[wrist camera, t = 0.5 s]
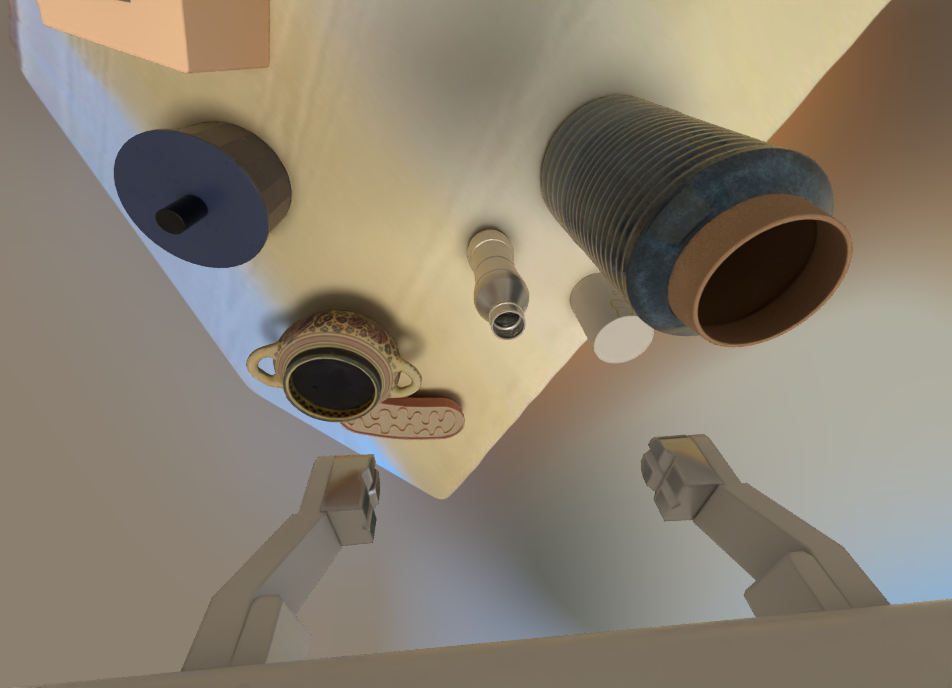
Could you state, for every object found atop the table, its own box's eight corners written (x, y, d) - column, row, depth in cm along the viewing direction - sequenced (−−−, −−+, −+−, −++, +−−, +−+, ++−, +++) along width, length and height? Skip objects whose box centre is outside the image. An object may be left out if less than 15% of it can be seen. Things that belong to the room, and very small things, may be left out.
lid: (91, 124, 34) (39, 134, 30) (249, 131, 36) (221, 142, 31) (160, 262, 43) (127, 287, 38) (286, 264, 44) (268, 288, 40)
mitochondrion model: (467, 389, 71) (468, 408, 68) (458, 423, 77) (459, 443, 73) (342, 378, 67) (336, 398, 63) (343, 415, 73) (337, 435, 69)
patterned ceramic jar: (276, 344, 65) (244, 423, 56) (260, 267, 52) (214, 355, 42) (416, 365, 70) (409, 440, 61) (435, 301, 57) (428, 385, 48)
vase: (600, 250, 56) (729, 408, 31) (514, 188, 49) (590, 325, 25) (690, 148, 48) (960, 250, 23) (602, 60, 42) (844, 69, 17)
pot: (158, 118, 42) (97, 132, 34) (276, 124, 43) (241, 139, 36) (202, 228, 50) (160, 260, 42) (301, 231, 51) (277, 261, 43)
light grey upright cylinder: (629, 293, 61) (664, 337, 51) (589, 324, 64) (615, 371, 55) (601, 263, 57) (633, 304, 48) (559, 298, 60) (582, 343, 51)
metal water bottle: (477, 274, 57) (491, 359, 41) (458, 235, 53) (466, 312, 37) (517, 258, 56) (547, 338, 40) (501, 216, 52) (528, 287, 36)
